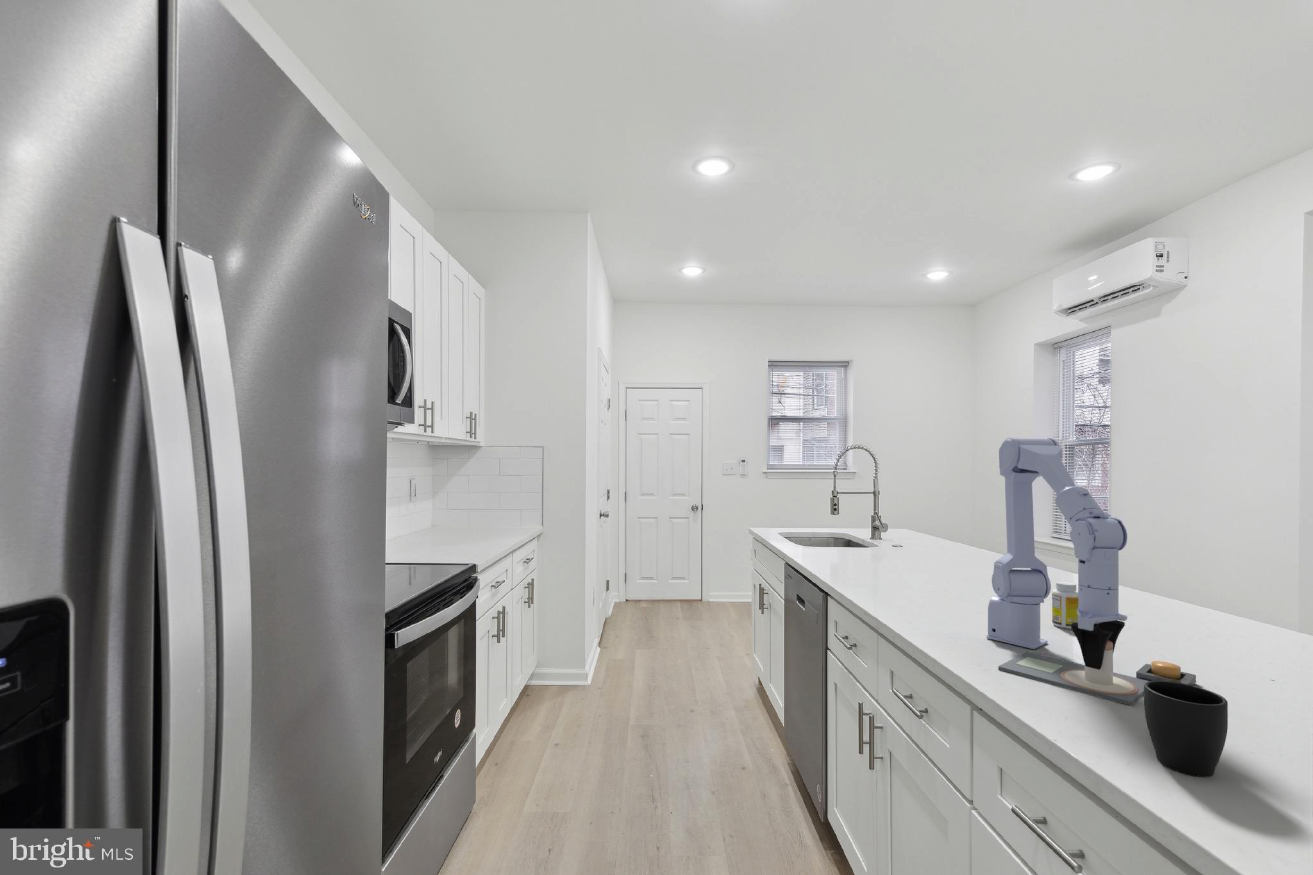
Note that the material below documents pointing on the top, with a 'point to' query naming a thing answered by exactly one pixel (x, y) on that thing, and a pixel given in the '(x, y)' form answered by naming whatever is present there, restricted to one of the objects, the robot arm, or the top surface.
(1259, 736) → the top surface
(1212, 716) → the black oval cup
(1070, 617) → the supplement bottle
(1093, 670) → the white and brown cylinder
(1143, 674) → the button housing
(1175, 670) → the button
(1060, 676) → the picture board
